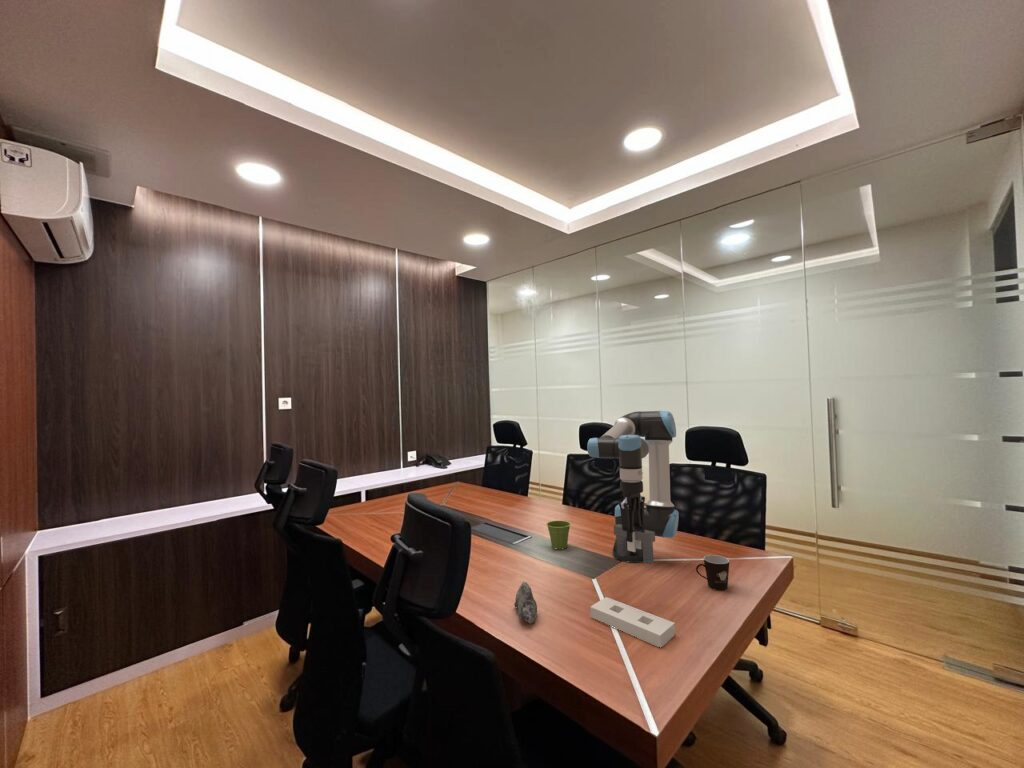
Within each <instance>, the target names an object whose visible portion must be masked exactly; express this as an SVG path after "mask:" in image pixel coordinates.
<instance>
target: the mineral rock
mask: <svg viewBox="0 0 1024 768" xmlns="http://www.w3.org/2000/svg"><path fill="white" fill-rule="evenodd" d="M514 607H515V608H516V607H517V608H516V610H517V615H518V618H519V619H521V620H523V621H525V622H526V623H529V624H533V623H534V622H535V621H536V618H537V614H538V610H537V609H538V605H537V601H536V599H535V598H534V594H533V591H532V588H531V586H530V585H529V583H528V582H526V581H522V583H521V584H520V585H519V588H518V589H517V591H516V594H515V602H514Z"/></svg>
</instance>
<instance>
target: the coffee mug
mask: <svg viewBox="0 0 1024 768" xmlns="http://www.w3.org/2000/svg"><path fill="white" fill-rule="evenodd" d="M701 566H703V567H704V568H705V575H706V576H704V575H702V574H701V573H700V572H699V568H700V567H701ZM695 567H696V568H695V572H696V573H697V574H698V575H699V576H700V577H702V578H703V579H705V580H706V581H707V585H708V587H709V588H710V589H712V590H714V591H719V592H724V591H727V590H728V586H729V573H730V571H729V570H730V560H729V559H728V557H726V556H722V555H718V554H717V555H716V554H707V555H704V556H703V563H699V564H697V565H696V566H695Z"/></svg>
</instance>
